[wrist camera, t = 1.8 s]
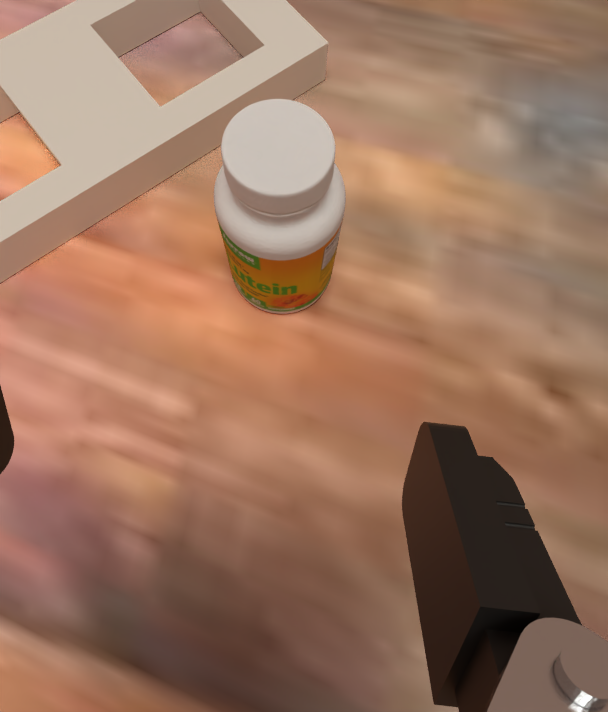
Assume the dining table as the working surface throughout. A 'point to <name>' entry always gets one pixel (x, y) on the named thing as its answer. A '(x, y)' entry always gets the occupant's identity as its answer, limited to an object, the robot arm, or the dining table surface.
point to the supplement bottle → (279, 204)
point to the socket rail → (131, 105)
